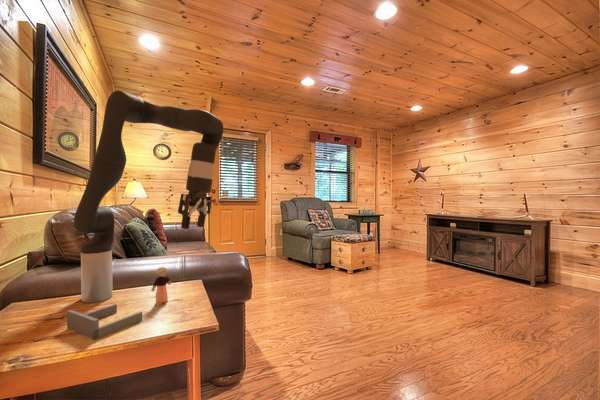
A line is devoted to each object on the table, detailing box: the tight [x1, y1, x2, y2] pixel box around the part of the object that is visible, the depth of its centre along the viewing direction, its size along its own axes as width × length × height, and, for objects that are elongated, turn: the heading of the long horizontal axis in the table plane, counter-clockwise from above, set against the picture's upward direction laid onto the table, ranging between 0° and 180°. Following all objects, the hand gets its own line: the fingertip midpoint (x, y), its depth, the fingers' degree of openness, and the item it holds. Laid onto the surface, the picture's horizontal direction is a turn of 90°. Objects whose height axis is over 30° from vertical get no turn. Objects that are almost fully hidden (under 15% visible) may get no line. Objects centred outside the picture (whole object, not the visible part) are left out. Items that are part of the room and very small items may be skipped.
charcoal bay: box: [66, 303, 143, 341], centre depth 83 cm, size 14×13×5 cm
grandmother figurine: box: [150, 266, 172, 307], centre depth 99 cm, size 8×4×13 cm, turn 168°
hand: (193, 227), depth 89 cm, fingers open, 8 cm apart
